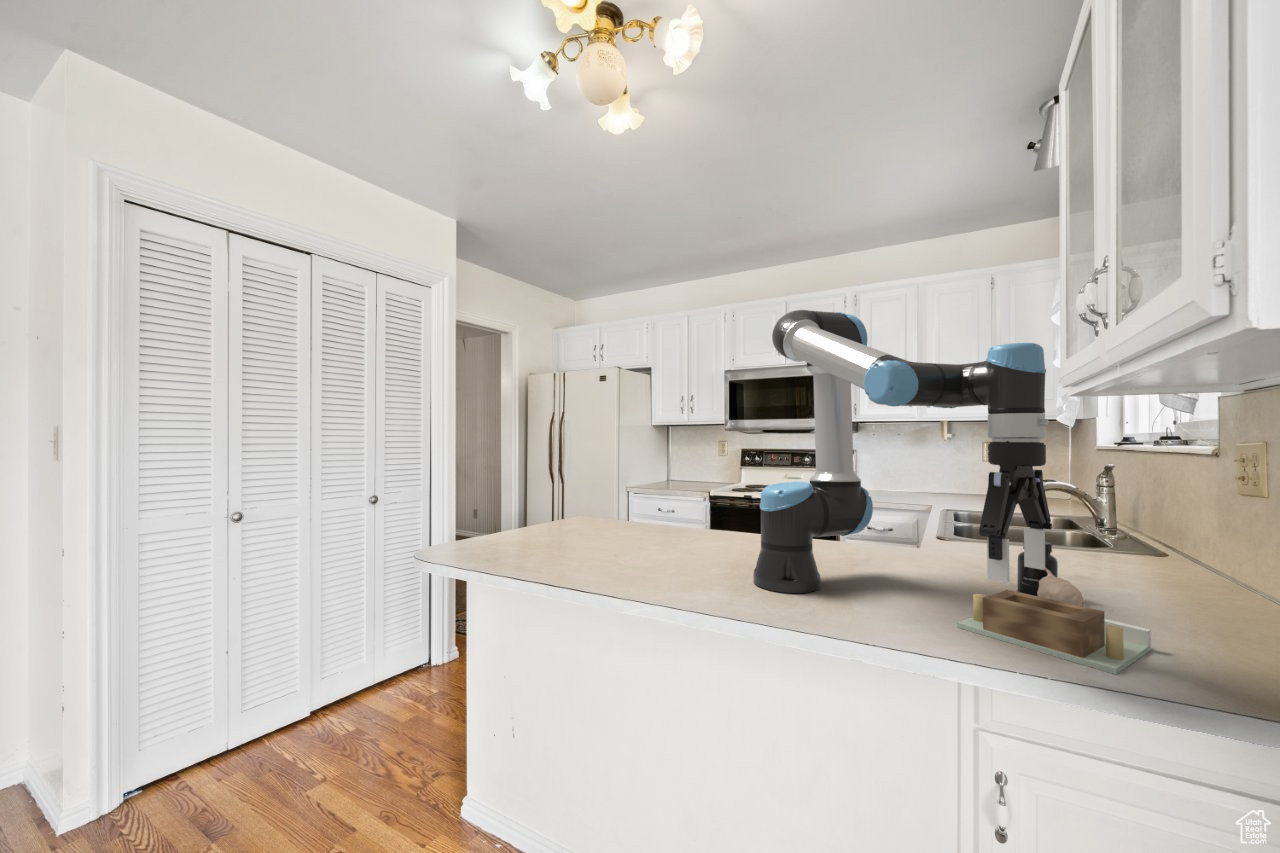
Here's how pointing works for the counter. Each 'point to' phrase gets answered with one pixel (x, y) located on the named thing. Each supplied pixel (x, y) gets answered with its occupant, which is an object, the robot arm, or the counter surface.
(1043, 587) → the garlic bulb
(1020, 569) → the supplement bottle
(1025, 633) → the wooden box
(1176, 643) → the counter surface
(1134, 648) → the wall board
